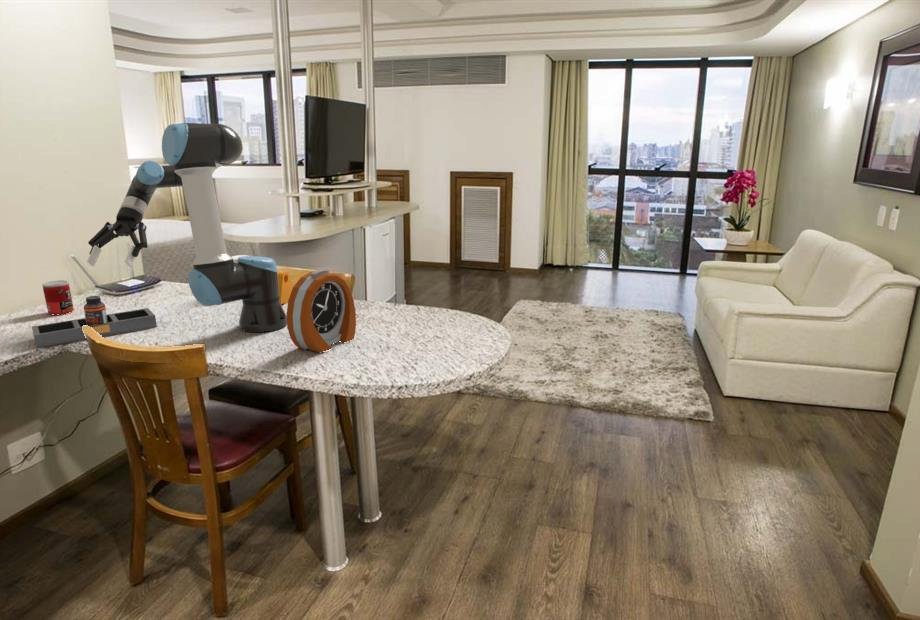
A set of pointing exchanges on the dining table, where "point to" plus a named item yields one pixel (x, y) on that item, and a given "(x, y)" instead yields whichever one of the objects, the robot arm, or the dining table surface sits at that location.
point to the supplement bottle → (95, 311)
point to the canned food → (58, 297)
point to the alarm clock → (320, 311)
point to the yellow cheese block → (284, 286)
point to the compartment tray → (73, 328)
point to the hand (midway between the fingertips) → (109, 264)
